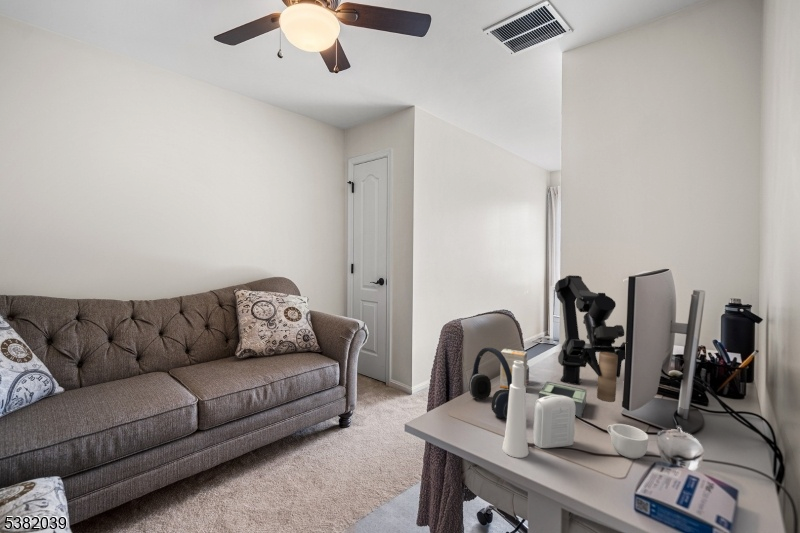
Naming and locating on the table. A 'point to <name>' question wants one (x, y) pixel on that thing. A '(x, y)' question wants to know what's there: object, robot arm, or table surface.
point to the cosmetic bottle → (516, 415)
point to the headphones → (482, 385)
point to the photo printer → (554, 421)
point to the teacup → (628, 440)
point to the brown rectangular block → (607, 376)
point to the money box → (566, 394)
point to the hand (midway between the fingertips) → (609, 376)
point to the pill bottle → (527, 375)
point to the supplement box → (510, 358)
